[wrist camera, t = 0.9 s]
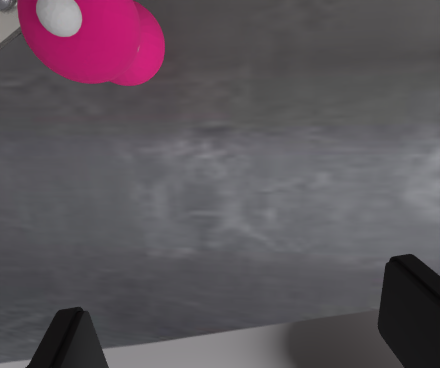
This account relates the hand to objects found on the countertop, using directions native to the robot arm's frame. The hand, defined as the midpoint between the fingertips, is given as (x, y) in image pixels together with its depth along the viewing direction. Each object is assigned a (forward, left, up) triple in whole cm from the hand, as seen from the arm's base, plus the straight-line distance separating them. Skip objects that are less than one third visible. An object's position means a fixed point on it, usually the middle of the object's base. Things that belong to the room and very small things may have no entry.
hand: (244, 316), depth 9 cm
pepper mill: (0, -12, -28) cm, 30 cm away
